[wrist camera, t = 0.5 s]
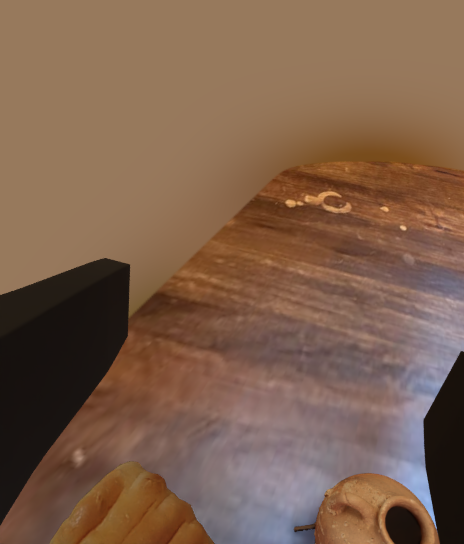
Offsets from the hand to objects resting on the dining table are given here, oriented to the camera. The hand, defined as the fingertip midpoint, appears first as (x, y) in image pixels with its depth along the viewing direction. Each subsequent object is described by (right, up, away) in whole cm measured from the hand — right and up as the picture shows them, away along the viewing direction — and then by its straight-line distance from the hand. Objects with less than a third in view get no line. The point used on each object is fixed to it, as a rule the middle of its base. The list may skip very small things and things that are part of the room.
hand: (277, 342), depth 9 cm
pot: (+5, -15, +15) cm, 22 cm away
